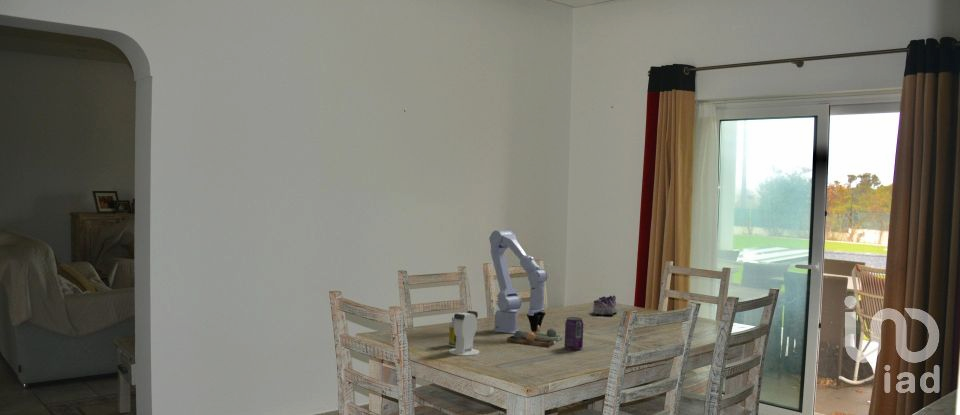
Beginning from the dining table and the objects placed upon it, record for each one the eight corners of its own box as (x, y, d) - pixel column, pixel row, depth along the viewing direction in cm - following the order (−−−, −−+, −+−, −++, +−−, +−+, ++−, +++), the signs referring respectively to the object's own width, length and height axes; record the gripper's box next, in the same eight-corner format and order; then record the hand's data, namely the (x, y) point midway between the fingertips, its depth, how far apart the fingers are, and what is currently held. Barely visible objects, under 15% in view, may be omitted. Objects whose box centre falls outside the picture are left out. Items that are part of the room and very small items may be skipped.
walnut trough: (506, 341, 308) (507, 338, 308) (512, 339, 314) (512, 335, 313) (549, 347, 301) (549, 343, 301) (553, 344, 306) (554, 340, 306)
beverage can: (584, 347, 302) (585, 317, 302) (580, 351, 296) (581, 320, 295) (566, 345, 305) (567, 316, 304) (562, 349, 298) (563, 318, 298)
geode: (597, 309, 397) (600, 291, 397) (618, 314, 393) (622, 296, 393) (588, 314, 378) (592, 294, 378) (611, 319, 374) (615, 299, 374)
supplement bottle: (460, 343, 301) (461, 315, 301) (467, 347, 296) (468, 318, 295) (446, 344, 298) (447, 316, 298) (453, 348, 293) (454, 319, 292)
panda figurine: (460, 347, 295) (461, 308, 294) (485, 351, 289) (487, 312, 289) (443, 352, 285) (444, 312, 284) (469, 357, 279) (470, 316, 278)
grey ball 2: (545, 338, 315) (545, 328, 315) (548, 336, 319) (548, 327, 319) (554, 339, 314) (554, 329, 314) (557, 337, 317) (557, 328, 317)
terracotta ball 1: (524, 342, 306) (524, 332, 306) (527, 340, 310) (527, 330, 310) (533, 343, 305) (533, 333, 304) (536, 341, 308) (537, 331, 308)
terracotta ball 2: (529, 334, 318) (529, 324, 318) (532, 332, 322) (533, 323, 321) (538, 335, 316) (539, 325, 316) (541, 333, 320) (542, 324, 320)
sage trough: (513, 338, 314) (513, 335, 314) (522, 334, 325) (522, 330, 324) (554, 343, 307) (554, 340, 307) (562, 339, 317) (562, 335, 317)
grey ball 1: (512, 340, 308) (512, 330, 308) (515, 339, 312) (516, 329, 312) (521, 341, 307) (522, 332, 306) (525, 340, 310) (525, 330, 310)
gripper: (540, 301, 310) (539, 334, 311) (551, 296, 324) (550, 328, 324) (524, 299, 313) (522, 332, 313) (535, 295, 326) (534, 326, 327)
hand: (535, 330), depth 319 cm, fingers closed on terracotta ball 2, 4 cm apart
